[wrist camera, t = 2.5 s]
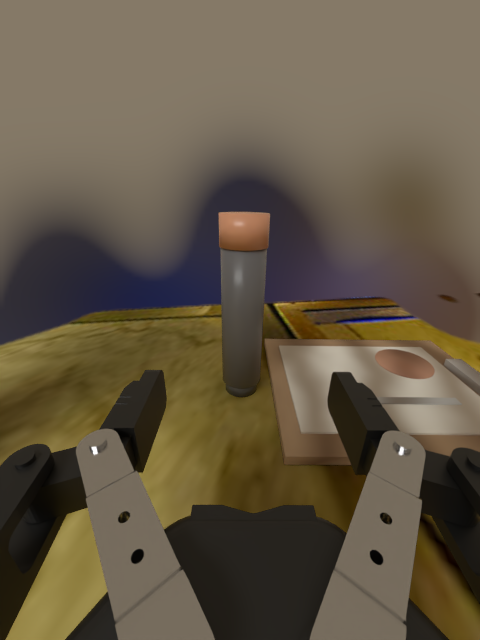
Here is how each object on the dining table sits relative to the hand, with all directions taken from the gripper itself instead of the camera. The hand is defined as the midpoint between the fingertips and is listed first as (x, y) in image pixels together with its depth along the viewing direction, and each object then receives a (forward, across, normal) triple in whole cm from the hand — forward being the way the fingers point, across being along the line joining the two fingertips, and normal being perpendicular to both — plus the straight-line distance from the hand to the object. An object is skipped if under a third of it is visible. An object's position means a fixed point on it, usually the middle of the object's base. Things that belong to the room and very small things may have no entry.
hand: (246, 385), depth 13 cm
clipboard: (+11, -13, +9) cm, 20 cm away
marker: (+11, 0, +9) cm, 14 cm away
